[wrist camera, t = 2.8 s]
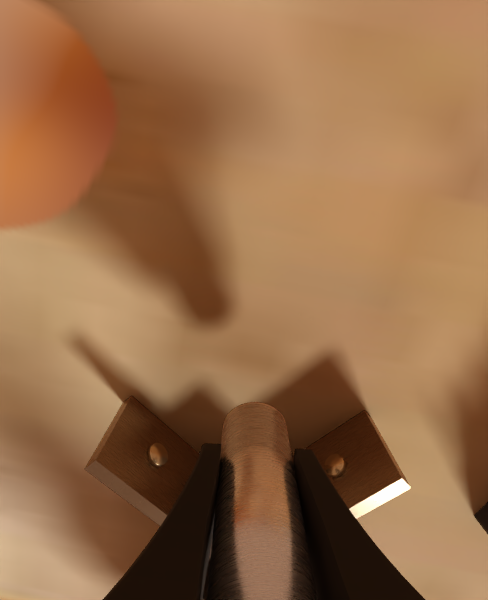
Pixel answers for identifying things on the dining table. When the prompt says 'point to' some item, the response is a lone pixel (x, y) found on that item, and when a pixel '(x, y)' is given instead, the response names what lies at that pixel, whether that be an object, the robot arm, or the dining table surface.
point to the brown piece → (182, 458)
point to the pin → (258, 513)
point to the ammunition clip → (483, 517)
